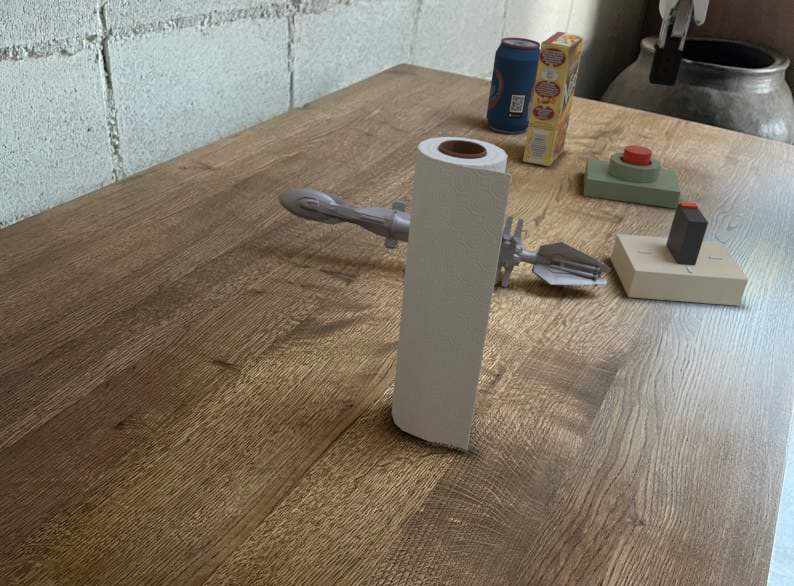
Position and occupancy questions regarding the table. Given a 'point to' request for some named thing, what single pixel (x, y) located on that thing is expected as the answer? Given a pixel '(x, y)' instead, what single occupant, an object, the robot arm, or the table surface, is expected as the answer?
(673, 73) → the robot arm
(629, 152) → the red push button
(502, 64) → the soda can
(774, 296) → the table surface
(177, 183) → the table surface
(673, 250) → the hob knob
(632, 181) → the switch box
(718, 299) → the panel
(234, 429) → the table surface
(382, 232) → the spaceship
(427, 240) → the paper towel roll
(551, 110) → the candy box
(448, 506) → the table surface
